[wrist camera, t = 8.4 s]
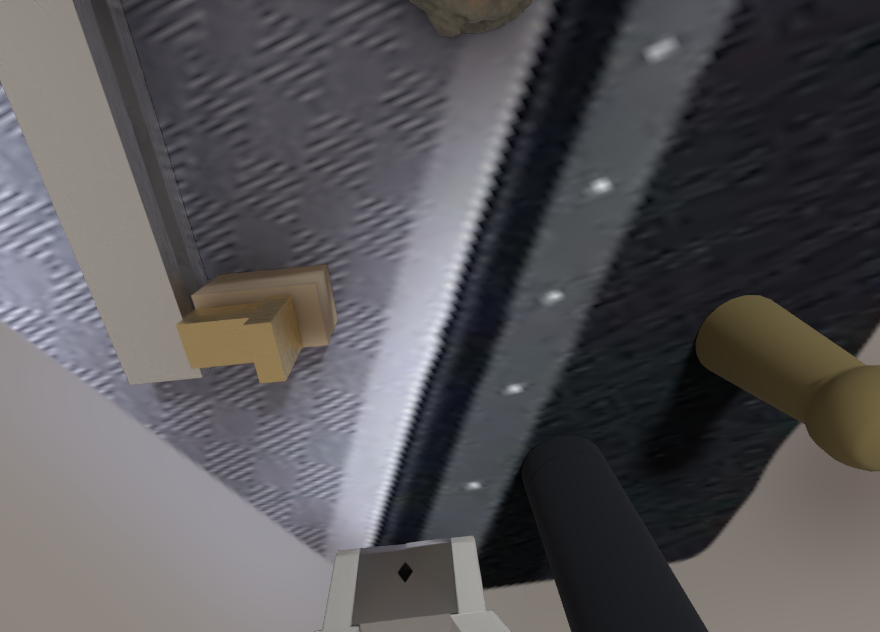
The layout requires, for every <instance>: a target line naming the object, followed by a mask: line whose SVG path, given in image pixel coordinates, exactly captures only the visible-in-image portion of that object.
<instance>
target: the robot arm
mask: <svg viewBox="0 0 880 632" xmlns="http://www.w3.org/2000/svg"><path fill="white" fill-rule="evenodd" d="M451 548H452V549H451ZM452 558H453V559H452ZM453 568H454V569H453ZM315 632H511V630H510V629H509V628H508V627H507V626H506V624H505V623H504V622H503V621H502V620H501V619H500V617H499V616H498V615H497V614H496V612H495V611H494V610H486V605H485V599H484V593H483V587H482V581H481V574H480V568H479V562H478V556H477V550H476V544H475V539H474V537H473V536H465V537H457V538H451V541H450V538H444V539H436V540H429V541H421V542H413V543H406V544H405V545H393V546H381V547H369V548H359V549H349V550H339V551H338V553H337V555H336V557H335V561H334V567H333V573H332V578H331V584H330V590H329V595H328V601H327V607H326V612H325V617H324V623H323V629H322V630H319V631H315Z"/></svg>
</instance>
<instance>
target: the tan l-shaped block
mask: <svg viewBox="0 0 880 632" xmlns="http://www.w3.org/2000/svg"><path fill="white" fill-rule="evenodd" d="M176 327H177V330H178V333H179V336H180V339H181V342H182V344H183V347H184V350H185V353H186V356H187V358H188V361H189V364H190V367H191V369H196V368H206V367H216V366H226V365H235V364H245V363H254V365H255V368H256V372H257V375H258V379H259V382H260V383H270V382H280V381H286V379H287V377H288V375H289V373H290V371H291V369H292V367H293V365H294V363H295V361H296V359H297V357H298V355H299V353H300V351H301V349H302V347H303V342H302V338H301V333H300V329H299V325H298V320H297V316H296V312H295V307H294V303H293V299H292V295H291V294H286V295H276V296H268V297H267V298H266V299H265V300H264V301H263V302H261V303H251V304H240V305H230V306H220V307H210V308H199V309H194V310H193V311H192V312H191V313H189V314H188V315H187V316H186V317H185V318H183V319H182V320H181V321H180V322H178V323H177V324H176Z"/></svg>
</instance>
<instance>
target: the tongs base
mask: <svg viewBox="0 0 880 632" xmlns="http://www.w3.org/2000/svg"><path fill="white" fill-rule="evenodd" d="M90 2H91V5H92V8H93V11H94V14H95V17H96V20H97V23H98V26H99V29H100V32H101V35H102V38H103V41H104V44H105V47H106V50H107V53H108V56H109V59H110V62H111V65H112V68H113V71H114V74H115V77H116V80H117V83H118V86H119V89H120V92H121V95H122V98H123V101H124V104H125V107H126V110H127V113H128V116H129V119H130V122H131V125H132V128H133V131H134V134H135V137H136V140H137V143H138V146H139V149H140V152H141V155H142V158H143V162H144V165H145V168H146V171H147V174H148V177H149V180H150V183H151V186H152V189H153V192H154V195H155V198H156V201H157V204H158V207H159V210H160V213H161V216H162V219H163V222H164V225H165V228H166V231H167V234H168V237H169V240H170V243H171V246H172V249H173V252H174V255H175V258H176V261H177V264H178V267H179V270H180V273H181V276H182V279H183V282H184V285H185V288H186V291H187V294H188V297H189V300H190V303H191V306H192V309H193V310H194V309H195V306H194V303H193V300H192V297H191V295H193V294H194V293H195V292H197V291H198V290H199V289H201V288H202V287H203V286H205V285H206V284H207V283H208V281H207V278H206V275H205V272H204V268H203V265H202V262H201V259H200V256H199V252H198V249H197V246H196V243H195V240H194V236H193V233H192V230H191V227H190V223H189V220H188V217H187V214H186V211H185V207H184V204H183V201H182V198H181V194H180V191H179V188H178V185H177V182H176V178H175V175H174V172H173V169H172V165H171V162H170V159H169V156H168V153H167V149H166V146H165V143H164V140H163V136H162V133H161V130H160V127H159V124H158V120H157V117H156V114H155V111H154V107H153V104H152V101H151V98H150V95H149V91H148V88H147V85H146V82H145V79H144V75H143V72H142V69H141V66H140V62H139V59H138V56H137V53H136V50H135V46H134V43H133V40H132V37H131V33H130V30H129V27H128V24H127V21H126V17H125V14H124V11H123V8H122V4H121V1H120V0H90Z"/></svg>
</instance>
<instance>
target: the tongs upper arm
mask: <svg viewBox="0 0 880 632" xmlns="http://www.w3.org/2000/svg"><path fill="white" fill-rule="evenodd" d="M0 81H1V83H2V85H3V88H4V90H5V92H6V95H7V97H8V99H9V102H10V104H11V107H12V109H13V111H14V114H15V116H16V118H17V121H18V123H19V125H20V128H21V130H22V132H23V135H24V137H25V139H26V142H27V144H28V146H29V149H30V151H31V153H32V156H33V158H34V161H35V163H36V165H37V168H38V170H39V172H40V175H41V177H42V179H43V182H44V184H45V186H46V189H47V191H48V193H49V196H50V198H51V200H52V203H53V205H54V207H55V210H56V212H57V215H58V217H59V219H60V222H61V224H62V226H63V229H64V231H65V233H66V236H67V238H68V240H69V243H70V245H71V247H72V250H73V252H74V254H75V257H76V259H77V261H78V264H79V266H80V269H81V271H82V273H83V276H84V278H85V280H86V283H87V285H88V287H89V290H90V292H91V294H92V297H93V299H94V301H95V304H96V306H97V308H98V311H99V313H100V315H101V318H102V320H103V322H104V325H105V327H106V330H107V332H108V334H109V337H110V339H111V341H112V344H113V346H114V348H115V351H116V353H117V355H118V358H119V360H120V362H121V365H122V367H123V369H124V372H125V374H126V376H127V379H128V381H129V384H130V385H135V384H144V383H154V382H164V381H174V380H184V379H193V378H203V377H204V375H205V374H206V373H207V372H208V371H209V369H210V368H211V367H206V368H196V369H191V367H190V364H189V361H188V358H187V356H186V353H185V350H184V347H183V344H182V342H181V339H180V336H179V333H178V330H177V327H176V324H177V323H178V322H180V321H181V320H182V319H183V318H185V317H186V316H187V315H188V314H189V313H191V312H192V311H193V309H192V306H191V303H190V300H189V297H188V294H187V291H186V288H185V285H184V282H183V279H182V276H181V273H180V270H179V267H178V264H177V261H176V258H175V255H174V252H173V249H172V246H171V243H170V240H169V237H168V234H167V231H166V228H165V225H164V222H163V219H162V216H161V213H160V210H159V207H158V204H157V201H156V198H155V195H154V192H153V189H152V186H151V183H150V180H149V177H148V174H147V171H146V168H145V165H144V162H143V158H142V155H141V152H140V149H139V146H138V143H137V140H136V137H135V134H134V131H133V128H132V125H131V122H130V119H129V116H128V113H127V110H126V107H125V104H124V101H123V98H122V95H121V92H120V89H119V86H118V83H117V80H116V77H115V74H114V71H113V68H112V65H111V62H110V59H109V56H108V53H107V50H106V47H105V44H104V41H103V38H102V35H101V32H100V29H99V26H98V23H97V20H96V17H95V14H94V11H93V8H92V5H91V2H90V0H0Z"/></svg>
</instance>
